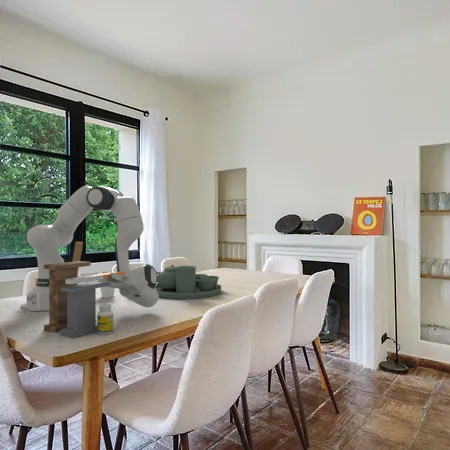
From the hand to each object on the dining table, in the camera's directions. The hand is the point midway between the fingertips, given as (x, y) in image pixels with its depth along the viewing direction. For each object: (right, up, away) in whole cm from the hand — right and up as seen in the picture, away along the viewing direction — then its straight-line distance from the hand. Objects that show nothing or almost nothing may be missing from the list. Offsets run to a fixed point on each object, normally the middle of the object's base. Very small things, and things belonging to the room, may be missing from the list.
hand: (107, 273), depth 138 cm
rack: (-5, -19, -9) cm, 22 cm away
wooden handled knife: (-2, -1, -4) cm, 5 cm away
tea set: (+23, -20, +68) cm, 75 cm away
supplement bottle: (+3, -20, -11) cm, 23 cm away
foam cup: (-19, -20, +57) cm, 64 cm away
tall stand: (-14, -20, -3) cm, 24 cm away
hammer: (-45, -21, +74) cm, 89 cm away
